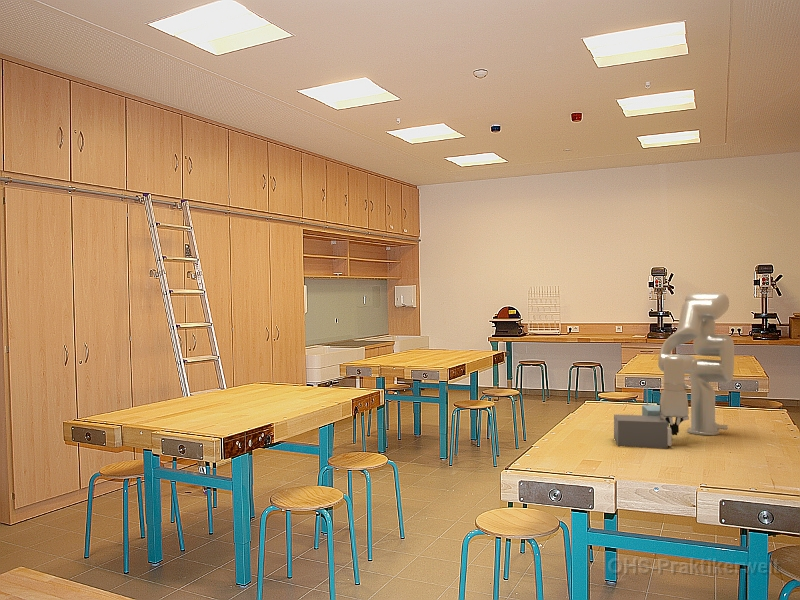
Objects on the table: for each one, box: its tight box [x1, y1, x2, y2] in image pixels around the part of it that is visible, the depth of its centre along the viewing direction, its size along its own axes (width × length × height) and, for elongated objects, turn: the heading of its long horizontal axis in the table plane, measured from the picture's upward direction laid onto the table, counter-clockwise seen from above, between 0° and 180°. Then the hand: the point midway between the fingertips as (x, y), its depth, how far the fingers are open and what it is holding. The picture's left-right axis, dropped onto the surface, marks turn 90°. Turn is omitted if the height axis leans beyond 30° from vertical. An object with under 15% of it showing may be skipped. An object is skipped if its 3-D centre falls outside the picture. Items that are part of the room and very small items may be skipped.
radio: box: [641, 386, 670, 427], centre depth 282 cm, size 16×9×20 cm, turn 168°
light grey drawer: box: [667, 425, 673, 447], centre depth 266 cm, size 17×16×6 cm
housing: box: [613, 414, 668, 449], centre depth 267 cm, size 18×15×10 cm
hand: (674, 434), depth 264 cm, fingers closed
